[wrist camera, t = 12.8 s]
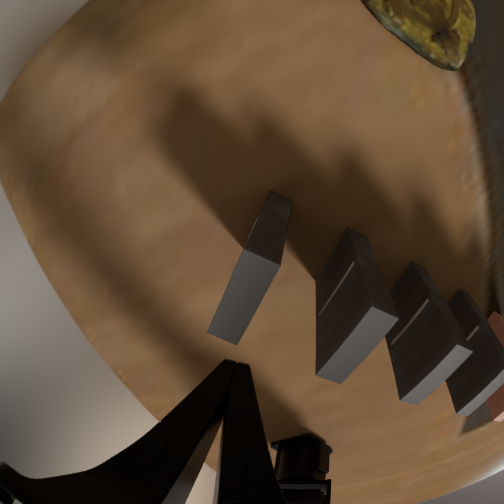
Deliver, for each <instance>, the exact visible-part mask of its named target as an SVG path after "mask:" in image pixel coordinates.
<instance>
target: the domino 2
mask: <svg viewBox="0 0 504 504" xmlns="http://www.w3.org/2000/svg"><path fill="white" fill-rule="evenodd" d="M398 319H399V317H398V314H397V311H396V309H395V306H394V303H393V300H392V298H391V295H390V293H389V290H388V287H387V285H386V282H385V280H384V277H383V275H382V272H381V270H380V267H379V265H378V263H377V260H376V258H375V256H374V253H373V251H372V249H371V246H370V244H369V242H368V240H367V237H366V236H364V235H362V234H360V233H358V232H356V231H354V230H352V229H350V228H348V227H347V229H346V231H345V233H344V235H343V236H342V238H341V240H340V241H339V243H338V245H337V247H336V248H335V250H334V252H333V253H332V255H331V257H330V259H329V260H328V262H327V264H326V265H325V267H324V269H323V270H322V272H321V274H320V275H319V277H318V278H317V280H316V374H315V375H316V376H319V377H322V378H325V379H328V380H331V381H334V382H337V383H340V384H341V383H342V382H343V381H344V380H345V379H346V378H347V377H348V376H349V375H350V374H351V373H352V372H353V371H354V370H355V369H356V368H357V367H358V366H359V365H360V363H361V362H362V361H363V360H364V359H365V358H366V357H367V356H368V355H369V354H370V352H371V351H372V350H373V349H374V348H375V347H376V346H377V345H378V343H379V342H380V341H381V340H382V339H383V338H384V336H385V335H386V334H387V333H388V332H389V330H390V329H391V328H392V327H393V326H394V324H395V323H396V322H397V321H398Z"/></svg>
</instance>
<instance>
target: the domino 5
mask: <svg viewBox="0 0 504 504" xmlns="http://www.w3.org/2000/svg"><path fill="white" fill-rule="evenodd" d="M487 321H488V323H489V325H490V326H491V328H492V329H493V331H494V333H495V334H496V336H497V338H498V339H499V341H500V343H501V344H502V346H503V348H504V319H503V317H502V316H501V315H500V314H498V313H497V312H495V311H494V312H493V313H492V314H491V315H490V317H489V318H488V319H487ZM486 402H487V405H488V407H489V410H490V413H491V416H492V419H493V420H494V421H500V422H501V421H502V420H503V419H504V383H503V384H502V385H501V386H500V387H499V388H498V389H497V390H496V391H495V392H494V393H493V394H492V395H491V396H490V397H489V398H488V399H487V400H486Z"/></svg>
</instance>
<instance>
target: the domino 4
mask: <svg viewBox="0 0 504 504" xmlns="http://www.w3.org/2000/svg"><path fill="white" fill-rule="evenodd" d="M448 306H449V307H450V309H451V311H452V313H453V314H454V316H455V318H456V320H457V322H458V323H459V325H460V327H461V329H462V331H463V333H464V335H465V336H466V338H467V340H468V342H469V344H470V346H471V348H472V350H473V352H472V353H471V354H470V356H469V357H468V358H467V359H466V360H465V361H464V362H463V363H462V364H461V365H460V366H459V367H458V368H457V369H456V370H455V371H454V372H453V373H452V374H451V375H450V376H449V377H448V378H447V379H446V383H447V386H448V389H449V392H450V395H451V398H452V401H453V405H454V408H455V411H456V414H460V415H466V416H468V415H469V414H471V413H472V412H473V411H474V410H475V409H476V408H478V407H479V406H480V405H481V404H482V403H483V402H484V401H486V400H487V399H488V398H489V397H490V396H491V395H492V394H493V393H494V392H495V391H496V390H497V389H498V388H499V387H500V386H501V385H502V384H503V383H504V348H503V346H502V344H501V343H500V341H499V339H498V338H497V336H496V334H495V333H494V331H493V329H492V328H491V326H490V325H489V323H488V321H487V320H486V318H485V317H484V315H483V314H482V312H481V311H480V309H479V308H478V306H477V305H476V303H475V302H474V300H473V299H472V297H471V296H470V295H469V294H467V293H466V292H464V291H462V290H461V289H459V291H458V292H457V293H456V295H455V296H454V297H453V299H452V300H451V301H450V303H449V304H448Z"/></svg>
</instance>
